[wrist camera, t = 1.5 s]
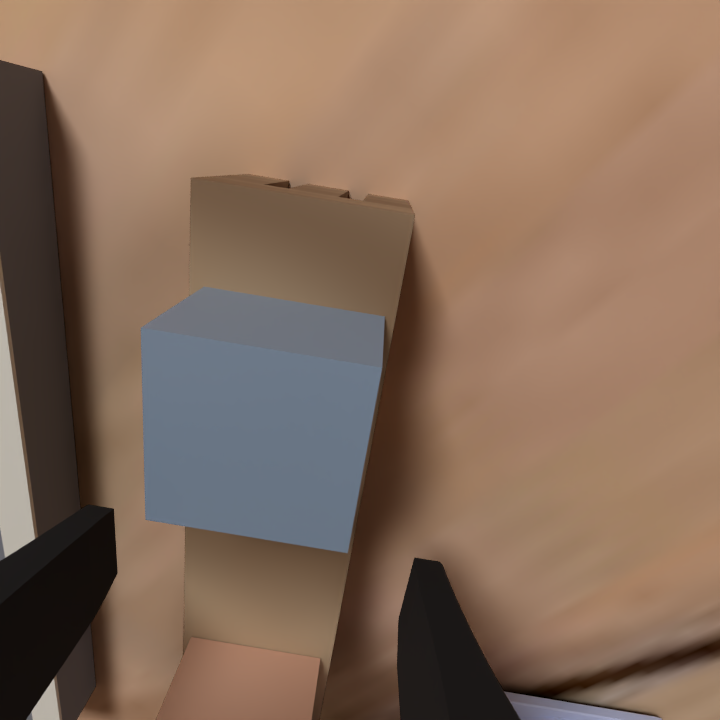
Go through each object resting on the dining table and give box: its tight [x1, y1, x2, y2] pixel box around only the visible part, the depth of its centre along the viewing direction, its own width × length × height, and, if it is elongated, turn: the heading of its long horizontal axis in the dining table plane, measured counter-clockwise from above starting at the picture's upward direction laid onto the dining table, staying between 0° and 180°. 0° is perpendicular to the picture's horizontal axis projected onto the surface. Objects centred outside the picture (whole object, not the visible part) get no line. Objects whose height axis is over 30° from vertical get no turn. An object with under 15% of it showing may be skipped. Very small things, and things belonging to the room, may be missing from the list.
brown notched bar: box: [183, 174, 415, 720], centre depth 14 cm, size 17×4×4 cm, turn 171°
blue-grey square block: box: [141, 287, 385, 553], centre depth 9 cm, size 4×4×2 cm
